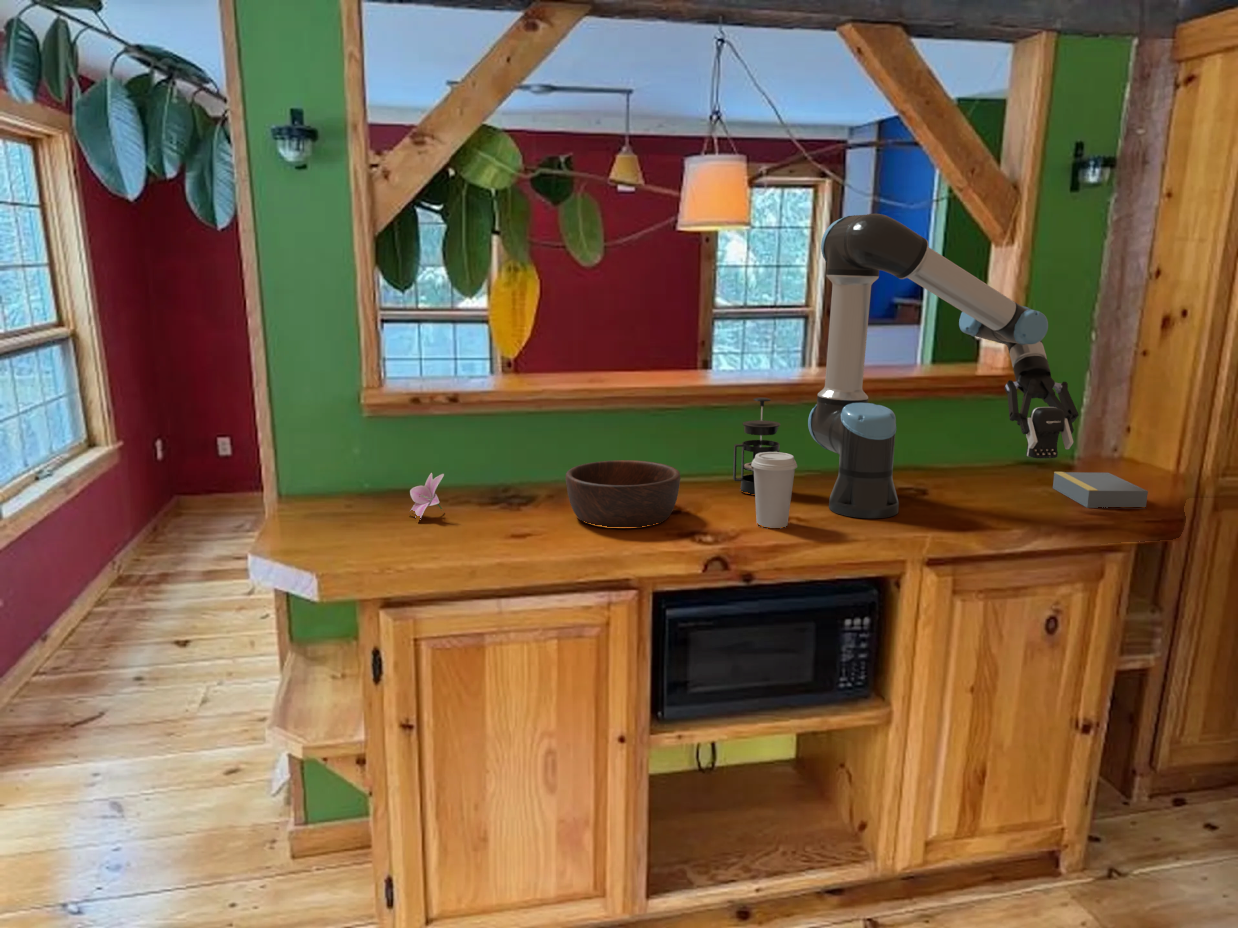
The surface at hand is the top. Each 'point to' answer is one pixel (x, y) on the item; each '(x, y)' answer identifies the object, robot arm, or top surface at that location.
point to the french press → (755, 446)
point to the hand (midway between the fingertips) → (1051, 445)
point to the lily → (425, 495)
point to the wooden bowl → (623, 492)
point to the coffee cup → (773, 487)
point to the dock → (1099, 490)
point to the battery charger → (1046, 431)
